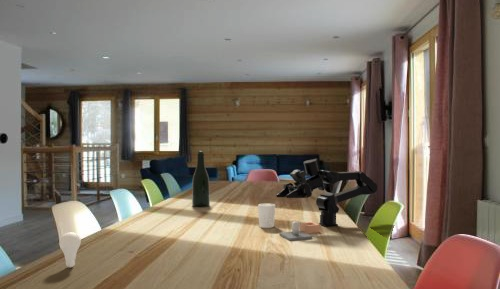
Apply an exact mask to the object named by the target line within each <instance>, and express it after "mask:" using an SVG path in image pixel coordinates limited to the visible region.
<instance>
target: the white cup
mask: <svg viewBox="0 0 500 289" xmlns="http://www.w3.org/2000/svg"><path fill="white" fill-rule="evenodd" d="M257 213H258V225H259V226H258V227H259V228H262V229H272V228H274V227H275V220H276V219H275V218H276V217H275V215H276V204H275V203H269V202H267V203H264V202H263V203H259V204H257Z"/></svg>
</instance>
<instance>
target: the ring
mask: <svg viewBox="0 0 500 289" xmlns="http://www.w3.org/2000/svg"><path fill="white" fill-rule="evenodd" d="M320 225H321V224H319V223H316V222H314V221H306V222H299V231H303V232H305V233H307V234H315V233H320V232H321V230H320V228H321V227H320Z"/></svg>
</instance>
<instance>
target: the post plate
mask: <svg viewBox="0 0 500 289" xmlns="http://www.w3.org/2000/svg"><path fill="white" fill-rule="evenodd" d="M291 227H292V228H291V229H292V231H283V232H279V234H278V235H279V236H280V237H282V238H283V239H285V240H287V241H289V242H292V241H301V240H302V241H303V240H313V235H311V234H310V233H305V232H303V231H300V222H299V221H292V226H291Z"/></svg>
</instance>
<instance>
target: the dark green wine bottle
mask: <svg viewBox="0 0 500 289" xmlns="http://www.w3.org/2000/svg"><path fill="white" fill-rule="evenodd" d="M205 164H206V163H205V153H204V151H202V150H199V151H197V153H196V168H195V171H194V173H193V177H192V186H191V187H192V190H191V198H192V199H191V203H192V204H191V205H192V206H193V207H196V208H205V207H209V206H210V203H211V202H210V201H211V197H210V193H211V192H210V177H209V174H208V171H207V169H206V166H205Z"/></svg>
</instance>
